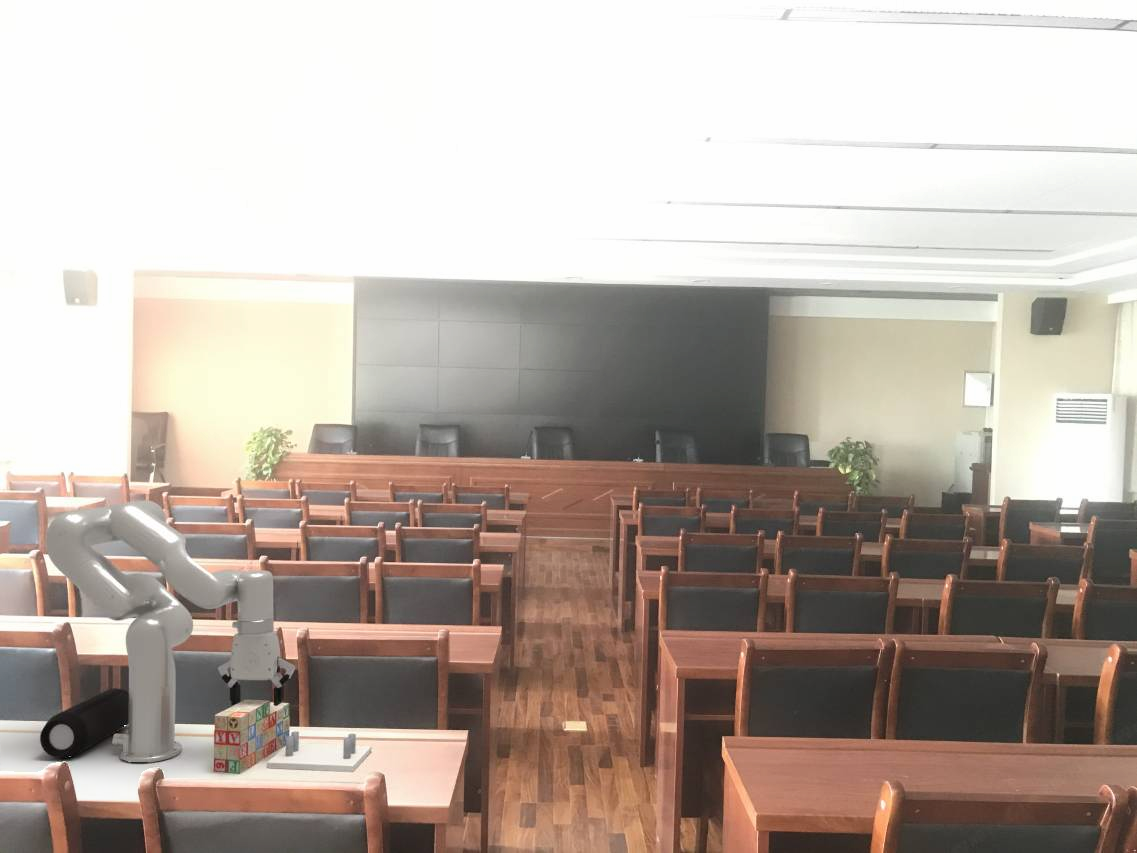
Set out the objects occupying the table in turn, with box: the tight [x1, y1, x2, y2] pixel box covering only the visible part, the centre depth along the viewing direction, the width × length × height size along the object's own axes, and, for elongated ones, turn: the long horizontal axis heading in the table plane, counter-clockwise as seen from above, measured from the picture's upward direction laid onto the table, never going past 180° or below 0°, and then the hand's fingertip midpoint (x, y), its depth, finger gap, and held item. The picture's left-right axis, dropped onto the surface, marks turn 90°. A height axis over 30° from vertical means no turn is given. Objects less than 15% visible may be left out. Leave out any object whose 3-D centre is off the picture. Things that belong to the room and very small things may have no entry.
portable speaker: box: [39, 687, 129, 759], centre depth 213 cm, size 26×10×10 cm, turn 177°
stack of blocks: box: [213, 699, 291, 775], centre depth 205 cm, size 21×6×12 cm, turn 169°
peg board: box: [266, 731, 372, 773], centre depth 203 cm, size 19×13×5 cm
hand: (257, 704), depth 205 cm, fingers open, 9 cm apart
